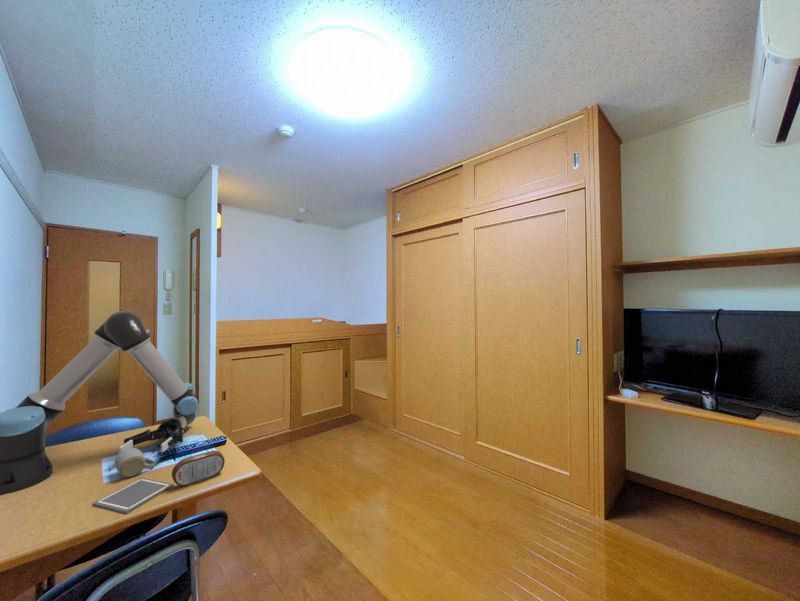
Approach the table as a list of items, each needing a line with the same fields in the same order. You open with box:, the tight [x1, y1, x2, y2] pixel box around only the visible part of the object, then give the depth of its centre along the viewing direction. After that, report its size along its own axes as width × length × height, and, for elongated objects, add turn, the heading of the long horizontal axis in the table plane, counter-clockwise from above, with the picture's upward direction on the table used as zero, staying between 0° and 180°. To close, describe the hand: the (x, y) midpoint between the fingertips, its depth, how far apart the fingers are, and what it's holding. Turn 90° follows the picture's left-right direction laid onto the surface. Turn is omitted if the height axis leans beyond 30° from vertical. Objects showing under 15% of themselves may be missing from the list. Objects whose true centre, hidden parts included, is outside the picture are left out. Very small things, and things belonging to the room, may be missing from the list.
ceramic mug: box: [114, 447, 156, 478], centre depth 113 cm, size 11×8×8 cm
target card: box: [91, 477, 175, 515], centre depth 100 cm, size 14×14×1 cm
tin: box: [171, 450, 226, 487], centre depth 108 cm, size 15×3×8 cm, turn 133°
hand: (141, 450), depth 117 cm, fingers open, 13 cm apart
